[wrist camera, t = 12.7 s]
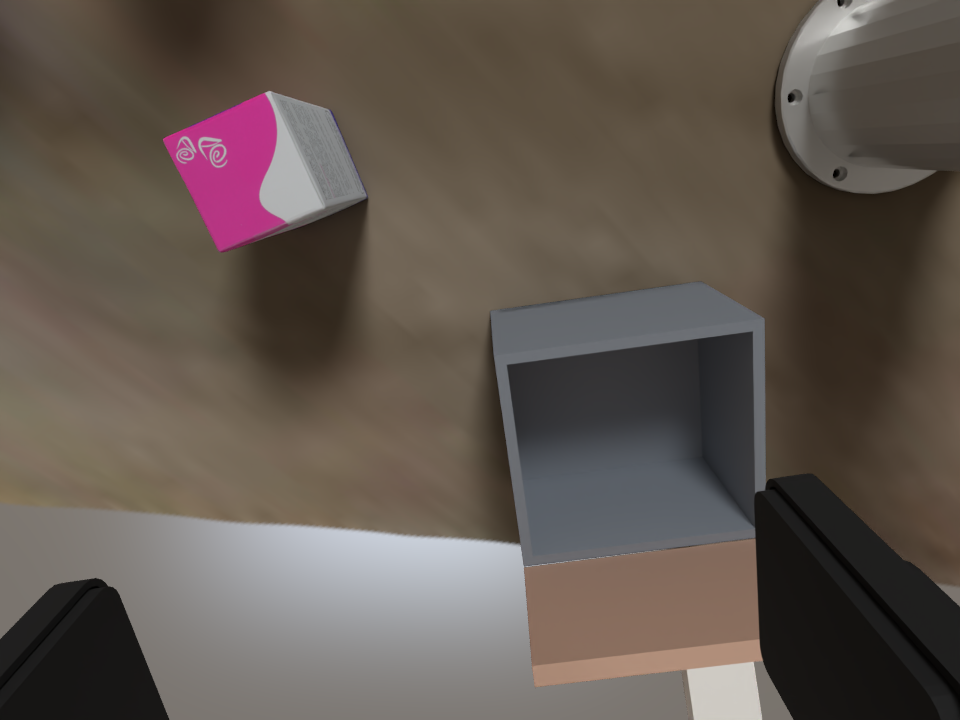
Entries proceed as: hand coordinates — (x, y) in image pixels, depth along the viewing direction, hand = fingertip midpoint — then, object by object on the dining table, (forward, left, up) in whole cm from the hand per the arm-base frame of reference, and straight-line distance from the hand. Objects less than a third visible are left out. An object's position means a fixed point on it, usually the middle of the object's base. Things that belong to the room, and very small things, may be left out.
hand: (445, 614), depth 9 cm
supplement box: (+9, -7, -34) cm, 36 cm away
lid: (-8, +15, -18) cm, 25 cm away
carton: (-8, +10, -34) cm, 37 cm away
